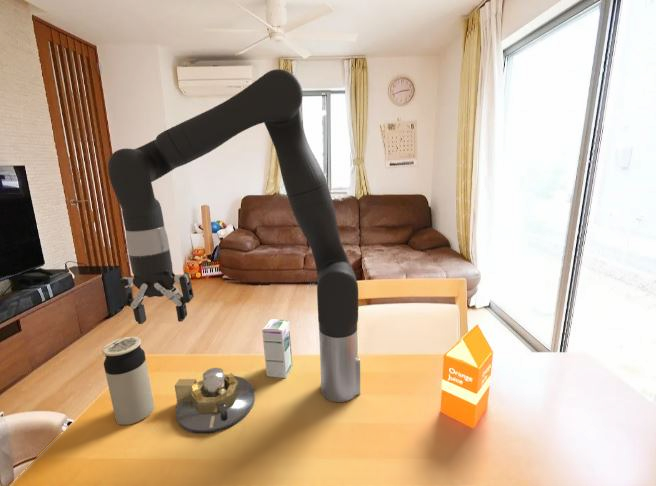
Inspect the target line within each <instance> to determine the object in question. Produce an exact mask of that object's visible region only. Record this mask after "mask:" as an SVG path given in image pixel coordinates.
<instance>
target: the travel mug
mask: <svg viewBox="0 0 656 486" xmlns="http://www.w3.org/2000/svg"><path fill="white" fill-rule="evenodd" d="M141 344H142V339H141V338H140V337H138V336H126V337H120V338H118V339H115V340H113V341H110V342H109V343H107V344H106V345H104V347H103V348H102V351H101V353H102V354H103V355H104V357H105V358H104V362H103V367H104V368H103V369H104V372H105V376H106V382H107V386H108V391H109V395H110V400H111V404H112V405H111V406H112V408H113V413H114V418H115V421H116V423H117V424H119V425H126V426H127V425H132V424H136V423H138V422H141V421H142V420H145V418H147V417H148V416H149V415H150V414H151V413H152V412H153V411H154V407H155V402H154V397H153V392H152V386H151V381H150V375H149V370H148V365H147V364H148V363H147V360H146V353H145V350H144V349H143V348H142V347H141Z"/></svg>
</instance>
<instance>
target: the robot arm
mask: <svg viewBox="0 0 656 486" xmlns="http://www.w3.org/2000/svg"><path fill="white" fill-rule="evenodd" d="M303 96H304V95H303V88H302V85H301V82H300V80H299V79H298V78H297V76H295V74H293V73H292V72H290V71H288V70H285V69H279V68H278V69H272V70H269V71H267V72H266V73H264V74H263V75H262V76H260V77H259V78H257V79H256V80H255V81H254V82H252V83H251V84H249V85H248V86H247V87H245V88H243V89H242V90H241V91H239V92H238V93H236V94H234V95H233V96H231V97H230V98H228V99H227V100H224V101H223V102H221V103H219V104H218V105H216V106H214V107H212V108H210V109H208V110H206V111H204V112H201V113H199V114H197V115H195V116H193V117H190V118H189V119H187V120H184V121H182V122H180V123H178V124H176V125H174V126H172V127H170V128H168V129H166V130H164V131H162V132H161V133H159V134H158V135H156V138H155V139H154V140H151V141H149V142H147V143H145V144H144V145H141V146H139V147H137V148H127V147H126V148H120V149H118V150H117V149H116V151H113V153H112V154H111V155H110V157H109V159H108V163H107V172H108V177H109V181H110V184H111V187H112V190H113V192H114V194H115V197H116V200H117V201H118V204H119V205H120V208H121V214H122V219H123V224H124V230H125V242H126V250H127V253H128V258H129V264H130V267H131V268H130V269H131V272H132V274H133V277H131V276H129V275H125V276H124V277H122V278H121V279H119V280H118V281H117V282H118V288H119V289H118V290H119V297H120V301H121V303H120V304H121V305H122V307H130V308H131V309H132V310H133V316H134V320H135V322H136V323H137V324H138V325H142V324H144V323H145V322H146V321H147V315H146V310H145V305H144V304H143V302H144V300H145V298H146V297H147V298H154V297H159V298H161V297H162V298H163V297H165V298H166V299H168V300H169V301H171V302H173V304H175V305H176V306H175V311H176V317H177V321H178V322H179V323H181V322H183V321H185V319H186V318H187V316H188V308H187V305H186V304H189V303H190V302H191V301H192V299H193V298H194V296H195V294H194V290H193V285H192V281H191V277H190V274H189V273H188V272H184V273H183V274H177V275H176V274H175V273H174V272H173V263H172V255H171V249H170V244H169V237H168V234H167V231H166V228H165V222H164V217H163V216H164V215H163V211H162V206H161V203H160V202H159V200H158V199H157V198H156V196H155V194H154V187H153V184H152V183H153V182H154V181H157V180H158V179H161V178H162V177H164V176H165V175H167V174H168V173H171V172H172V171H174V170H175V169H176V168H180V167H183V166H184V165H187V164H188V163H189V164H190V163H191V162H193V161H195V160H197V159H199V158H201V157H203V156H205V155H207V154H209V153H210V152H212V151H214V150H216V149H217V148H218V147H220V146H222V145H223V144H225V143H226V142H228V141H230V139H232V138H234V137H235V136H237V135H239V134H241V133H243V132H244V131H246V130H249V129H250V128H252V127H255V126H257V125H261V124H263V123H264V126H265V127H266V130H267V132H268V134H269V137H270V139H271V141H272V144H273V147H274V149H275V153H276V156H277V161H278V165H279V170H280V174H281V178H282V182H283V186H284V189H285V193H286V196H287V199H288V202H289V205H290V208H291V211H292V214H293V216H294V218H295V221H296V223H297V225H298V226H299V229H300V230H301V232H302V234H303V235H304V238H305V239H306V241H307V242H308V245H309V247H310V250H311V254H312V256H313V257H312V258H313V261H314V263H315V264H314V265H315V268H316V275H317V285H316V295H317V296H316V297H317V298H316V299H317V300H316V301H317V321H318V335H319V361H320V389H321V394H322V396H323V397H324V398H325V399H326V400H329V401H330V402H333V403H334V402H335V403H343V402H344V403H345V402H348V401H350V400H353V399H354V398H355V397H356V396H358V395H361V360H360V358H359V356H358V321H359V284H358V280H357V276H356V273H355V271H354V269H353V267H352V265H351V263H350V261H349V259H348V256H347V254H346V251H345V249H344V246H343V243H342V240H341V238H340V235H339V234H340V233H339V227H338V220H337V215H336V212H335V211H336V210H335V206H334V202H333V198H332V196H331V191H330V189H329V188H330V187H329V185H328V181H327V179H326V176H325V174H324V172H323V169H322V167H321V166H320V165H321V164H319V162H318V159H317V158H316V156H315V154H314V153H313V151H312V149H311V146H310V145H309V143H308V140H307V137H306V133H305V129H304V125H303V120H302V116H301V111H300V108H301V106H302V101H303ZM175 283H177V285H178V286H180V289H181V290H180V289H179V288H178V287H177V286H176V285H175ZM133 286H135V287H136V288H137V289H138V291H137V292H136V294H135V296H134V294H133V293H134V292H133ZM180 291H181V292H180Z"/></svg>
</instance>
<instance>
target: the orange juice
mask: <svg viewBox="0 0 656 486" xmlns="http://www.w3.org/2000/svg"><path fill="white" fill-rule="evenodd" d="M493 358H494V350H493V349H492V347H491V346H490V344H489V342H488V340H487V339H486V336H485V335H484V332H482V329H481V328H480V326H479V324H478V323H476V325H475V326H473V327H472V328H471V329H470V330H469V331H468V332H466V333H465V334H464V335H463V336H462V337H461V338H460V339H458V341H456V343H454V345H452V347H451V348H450V349H449V350H448V351H447V352H446V353H445V354H444V355H443V364H442V379H441V397H440V413H442V414H444V415H446V416H448V417H450V418H452V419H454V420H456V421H458V422H460V423H463V424H464V425H466V426H468V427H469V428H471V429H474V428H475V427H476V426H477V424H478V422H479V420H480V419H481V418H482V416H483V415H484V412H485V411H487V408H488V405H489V395H490V387H491V386H490V385H491V378H492V368H493V367H492V366H493Z"/></svg>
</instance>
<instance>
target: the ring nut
mask: <svg viewBox="0 0 656 486" xmlns="http://www.w3.org/2000/svg"><path fill="white" fill-rule="evenodd" d="M223 374H224V382H225V389H227V391H226V390H225V389H222V390H220V391H218V395H219V396H217V397H204V395H205V389H204V382H203V379H202V380H199V381H197V379H196V378H179V379H178V380H177V381H176V383H175V384H174V392H175V397H176V402H177V403H178V402H192V405H193V406H194V407H195V409H196V410H197V411H198V412H199V414H218V413H219V412H220V404H222V403H226V407H227V408H228V407H230V406H232V405H234V403H235V401H236V399H237V396H238V394H239V386H238V381H237V380H235V378H234V376H235V374H234V373H232V372H230V373H229V374H226V373H223Z"/></svg>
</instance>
